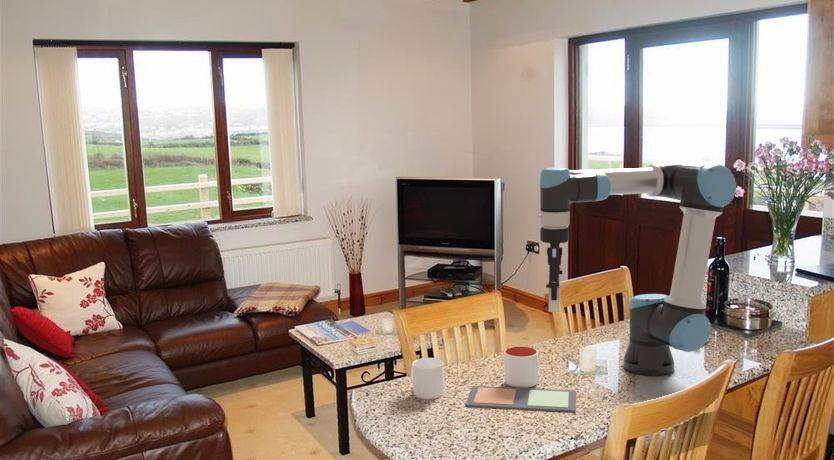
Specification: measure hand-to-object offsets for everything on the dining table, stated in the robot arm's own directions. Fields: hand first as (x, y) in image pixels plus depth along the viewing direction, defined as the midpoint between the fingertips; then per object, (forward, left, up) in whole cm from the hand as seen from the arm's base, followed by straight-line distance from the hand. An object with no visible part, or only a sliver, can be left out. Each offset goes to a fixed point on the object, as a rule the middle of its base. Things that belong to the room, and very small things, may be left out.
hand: (554, 304), depth 196 cm
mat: (+9, -4, -29) cm, 31 cm away
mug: (+37, -6, -29) cm, 48 cm away
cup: (+10, -16, -29) cm, 35 cm away
